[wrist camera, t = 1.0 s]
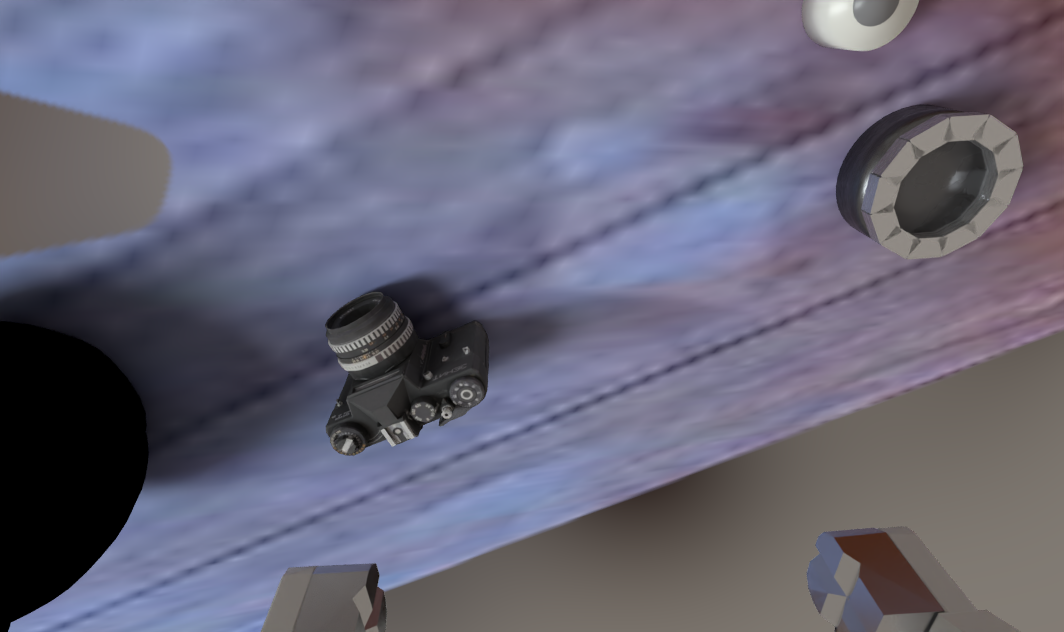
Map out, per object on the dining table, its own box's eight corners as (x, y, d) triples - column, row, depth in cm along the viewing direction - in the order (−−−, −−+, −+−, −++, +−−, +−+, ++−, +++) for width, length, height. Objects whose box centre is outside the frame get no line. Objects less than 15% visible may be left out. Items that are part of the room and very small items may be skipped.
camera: (442, 253, 48) (430, 307, 39) (498, 348, 53) (498, 415, 44) (303, 317, 50) (262, 381, 41) (369, 402, 55) (345, 475, 46)
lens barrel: (852, 109, 43) (894, 120, 39) (988, 100, 44) (1045, 110, 39) (823, 239, 49) (857, 262, 44) (944, 231, 49) (990, 253, 45)
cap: (810, -45, 38) (843, -52, 35) (893, -50, 38) (935, -57, 35) (794, 50, 41) (823, 53, 38) (872, 45, 41) (909, 48, 38)
